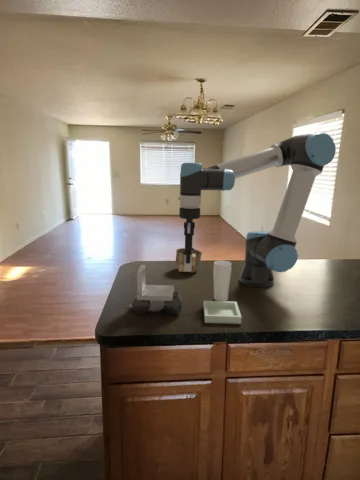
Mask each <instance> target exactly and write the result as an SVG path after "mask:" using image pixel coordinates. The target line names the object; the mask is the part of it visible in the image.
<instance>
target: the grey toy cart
mask: <svg viewBox="0 0 360 480" xmlns="http://www.w3.org/2000/svg"><path fill="white" fill-rule="evenodd" d="M136 279H137V281H136V284H137V290H136V291H137V293H136V295H135V298H134V299H133V301H132V304H131V308H132V310H133V312H134V313H136V314H137V315H145V314H147V313H148V312H149V310H150V307H151V303H152V302H155V301H158V302H164V304H163V310H164V312H165V313H166V314H168V315H169V316H176V315H178V314H180V312H181V310H182V304H183V298H182V295H181V294H180V292H178V291H176V290H175V285H170V284H169V285H166V284H165V285H164V284H163V285H162V284H159V285H158V284H147V283H146V264H140V266H139V268H138V270H137V272H136Z"/></svg>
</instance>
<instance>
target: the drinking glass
mask: <svg viewBox="0 0 360 480" xmlns="http://www.w3.org/2000/svg"><path fill="white" fill-rule="evenodd" d="M212 268H213V271H212V272H213V273H212V275H213V300H214V301H229V300H228V299H229V290H230V284H231V276H232V262H230V261H229V260H221V259H220V260H215V261H214V262H213V267H212Z"/></svg>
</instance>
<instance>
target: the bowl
mask: <svg viewBox="0 0 360 480" xmlns="http://www.w3.org/2000/svg"><path fill="white" fill-rule="evenodd" d="M175 251H176V253H175V254H176V255H175V263H176V264H177V266H178V267H179V255H180V253H184V252H185V247H183V248H177V249H176V250H175ZM192 254H196V260H195V269H197V268H198V267H199V265H200V264H201V259H202V254H203V253H202V251H201V250H198V249H195V248H194V250H192Z"/></svg>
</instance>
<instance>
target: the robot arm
mask: <svg viewBox="0 0 360 480" xmlns="http://www.w3.org/2000/svg"><path fill="white" fill-rule="evenodd" d="M336 149H337V148H336V143H335V142H334V139H333V137H332V136H330V134H328V133H325V132H317V131H316V132H312V133H305V134H298V135H294V136H291V137H289V138H287V139H286V138H285V139H284V140H282V141H279V142H276V143H273V144H271V145H270V147H269V148H266V149H262V150H260V151H257V152H253V153H250V154H247V155H244V156H240V157H237V158H234V159H233V158H232V159H231V160H227V161H224V162H220V163H219V164H215V165H211V166H209V167H203V163H201V162H183V163H182V164H181V165H180V171H179V172H180V173H179V178H180V179H179V182H180V183H179V196H178V198H177V199H178V200H179V206H180V207H179V211H178V212H179V215H178V217H179V218H180V219H182V220H183V219H185V221H184V222H183V228H184V229H183V235H184V248H185V252H184V253H183V254H184V271H189V272H188V273H192V272H191V269H192V250H194V249H195V247H194V246H193V236H195V228H196V226H195V225H196V222H194V220H197V219H200V218H201V208H200V207H201V206H202V191H223V192H224V191H231V190H232V189H233V188H234V186H235V183H236V179H238V178H242V177H245V176H248V175H250V174H254V173H257V172H261V171H263V170H266V169H270V168H273V167H276V168H280V167H283V166H290V168H291V169H292V173H291V175H290V179H289V182H288V185H287V188H286V191H285V193H284V197H283V199H282V201H281V202H282V203H281V204H280V208H279V211H278V214H277V216H276V217H277V218H276V220H275V222H274V225H273V229H272V230H270V231H265V230H263V231H262V230H261V231H260V230H259V231H258V230H257V231H254V230H253V231H249V232H247V234H246V238H245V253H244V265H243V267H242V270H241V271H240V273H239V281H240V283H241V284H243V285H246V286H248V287H253V288H270V287H272V286H273V285H274V284H275V276H274V272H276V273H285V272H287V271H289V270H291V269H293V267H294V266H295V265H296V263H297V262H298V260H299V259H298V257H299V253H298V250H297V249H296V246H297V243H298V241H297V238H296V234H297V230H298V227H299V225H300V222H301V219H302V217H303V213H304V211H305V208H306V206H307V202H308V200H309V197H310V193H311V191H312V189H313V185H314V183H315V180H316V177H317V176H319V175H321V174H322V173H323V170H324V168H325V166H327V165H328V164H330V163H331V162H332V161H333V160H334V159H335V157H336V156H335V155H336V153H337V152H336Z"/></svg>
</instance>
